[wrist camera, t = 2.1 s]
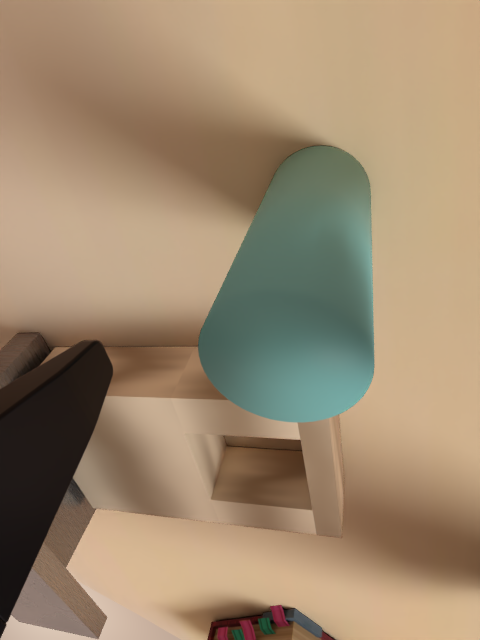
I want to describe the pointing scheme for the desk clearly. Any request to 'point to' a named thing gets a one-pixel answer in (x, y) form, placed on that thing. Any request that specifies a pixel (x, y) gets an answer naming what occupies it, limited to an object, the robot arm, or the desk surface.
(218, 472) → the socket block
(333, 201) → the peg
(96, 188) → the desk surface
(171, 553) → the desk surface
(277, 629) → the decorative book
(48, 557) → the grey l-shaped piece
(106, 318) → the desk surface
